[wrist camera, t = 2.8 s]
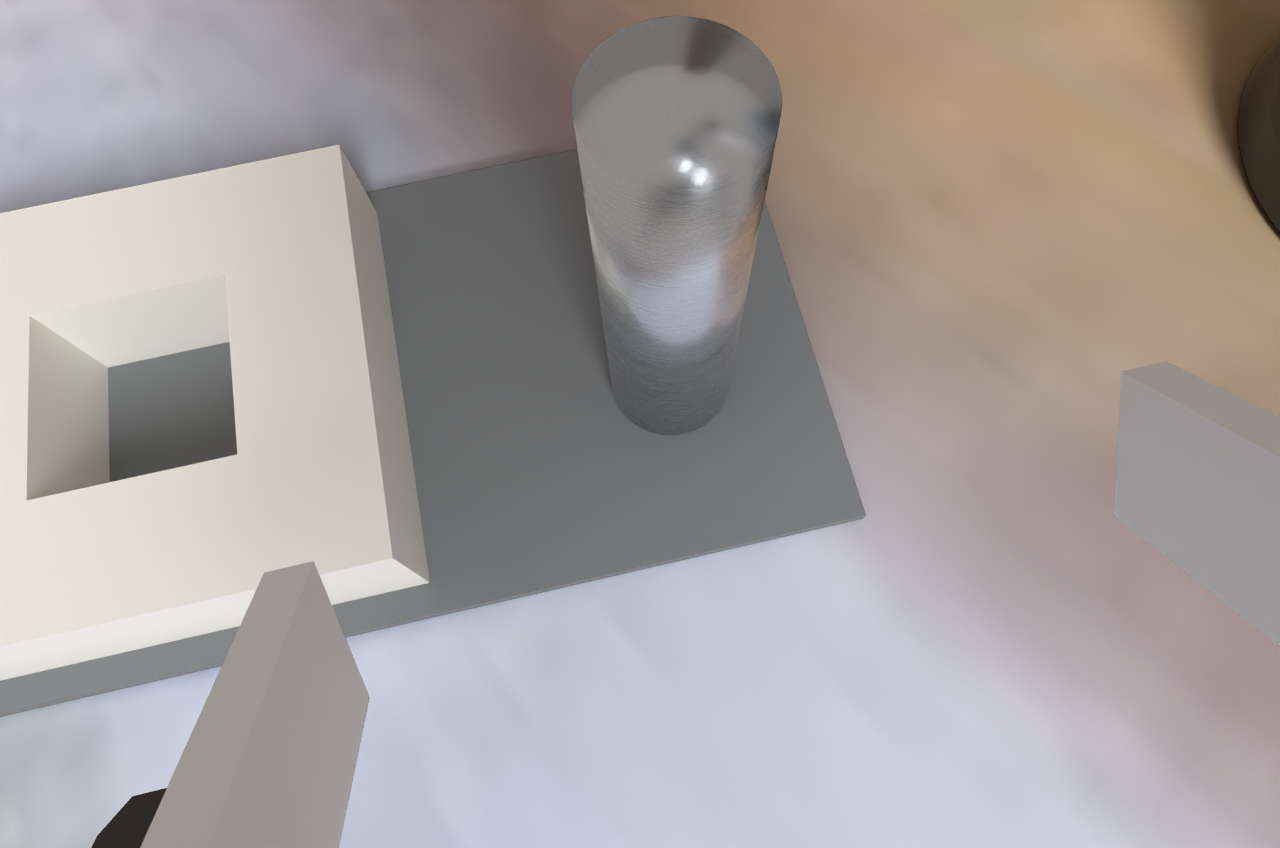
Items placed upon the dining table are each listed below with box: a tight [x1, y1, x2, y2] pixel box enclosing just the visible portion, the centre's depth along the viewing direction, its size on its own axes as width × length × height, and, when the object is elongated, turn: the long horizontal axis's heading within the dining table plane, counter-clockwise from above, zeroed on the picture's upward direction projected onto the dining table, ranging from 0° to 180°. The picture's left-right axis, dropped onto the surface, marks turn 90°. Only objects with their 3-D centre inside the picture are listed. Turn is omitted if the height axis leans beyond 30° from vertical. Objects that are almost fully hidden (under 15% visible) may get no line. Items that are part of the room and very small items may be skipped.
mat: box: [0, 149, 866, 717], centre depth 30 cm, size 30×16×1 cm, turn 103°
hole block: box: [0, 145, 430, 681], centre depth 28 cm, size 14×14×4 cm
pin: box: [571, 16, 782, 435], centre depth 23 cm, size 4×4×14 cm
